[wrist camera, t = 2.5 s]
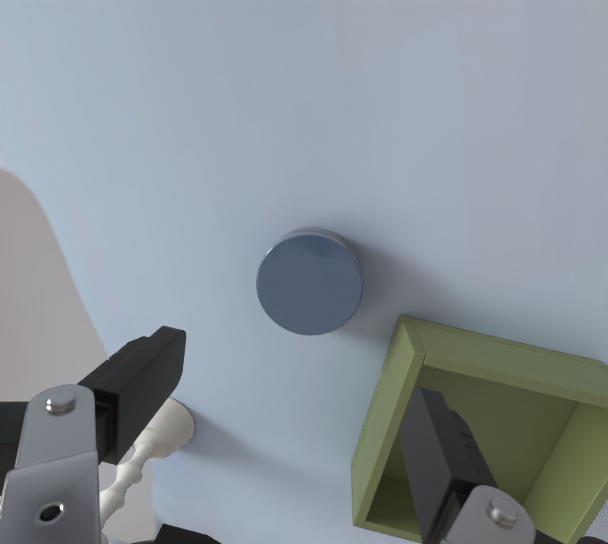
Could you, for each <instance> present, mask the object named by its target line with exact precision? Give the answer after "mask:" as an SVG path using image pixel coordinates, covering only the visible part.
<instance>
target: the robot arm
mask: <svg viewBox="0 0 608 544" xmlns="http://www.w3.org/2000/svg"><path fill="white" fill-rule="evenodd" d="M185 344H186V332H185V331H184V330H180V329H175V328H171V327H167V326H162V327H161V328H159V329H158V330H157V331H156V332H155V333H154V334H153V335H151V336H150V337H145V336H143V337H140V338H138V339H135V340H133V341H130V342H128V343H127V344H126V345H125V346H123V347H122V348H121V349H120V350H118V352H117V353H115V354H113V355H112V356H111V357H110V358H109V360H106V361H105V362H104V363H102V364H101V365H100V366H99V367H97V368H96V369H95V370H94V371H93V372H91V373H90V374H89V375H87V376H86V377H85V378H84V379H83V380H81V381H80V382H79V383H78V384H76V385H62V386H57V387H53V388H50V389H47V390H45V391H43V392H41V393H39V394H38V395H36V396H35V397H34V398H33V399H32V400H31V401H30V402H0V496H1V501H0V544H101V522H100V497H99V474H98V466H99V465H100V463H101V462H102V461H103V462H106V463H110V464H114V465H117V464H118V463H119V461H120V460H121V459H122V457H123V456H124V455H125V453H126V452H127V451H128V450H129V448H130V447H131V446H132V445H133V443H134V442H135V441H136V439H137V438H138V437H139V435H140V434H141V433H142V431H143V430H144V429H145V428H146V426H147V425H148V424H149V422H150V421H151V420H152V418H153V417H154V416H155V414H156V413H157V412H158V410H159V409H160V408H161V407H162V405H163V404H164V403H165V401H166V400H167V399H168V397H169V396H170V395H171V393H172V392H173V391H174V390H175V388H176V387H177V385H178V383H179V381H180V378H181V375H182V371H183V363H184V353H185ZM401 445H402V450H403V455H404V459H405V464H406V469H407V474H408V478H409V483H410V488H411V493H412V498H413V502H414V507H415V512H416V517H417V521H418V526H419V531H420V536H421V540H422V544H564V543H562V542H560V541H558V540H556V539H554V538H552V537H550V536H548V535H546V534H544V533H542V532H541V531H539V530H537V529H535V526H534V523H533V521H532V519H531V517H530V516H529V514H528V513H527V511H526V510H525V509H524V508H523V507H522V506H521V505H520V504H519V503H518V502H517V501H516V500H515V499H514V498H512V497H511V496H510V495H508V494H506V493H505V492H503V491H501V490H499V488H498V486H497V484H496V482H495V480H494V478H493V475H492V473H491V471H490V469H489V467H488V465H487V463H486V461H485V459H484V457H483V455H482V453H481V451H479V447H478V445H477V443H476V440H474V436H473V434H472V432H471V430H470V428H469V426H468V424H467V423H466V422H465V421H464V420H463V418H462V417H461V416H460V415H459V414H458V413H457V412H456V411H454V410H450V409H449V408H448V405H447V403H446V401H445V399H444V396H443V394H442V393H441V392H440V391H436V390H432V389H428V388H424V387H419V386H417V387H416V388H415V390H414V392H413V395H412V398H411V401H410V403H409V406H408V409H407V412H406V415H405V418H404V421H403V424H402V428H401ZM132 544H221V543H219V542H218V541H216V540H214V539H213V538H211V537H210V536H208V535H205V534H201V533H197V532H193V531H190V530H186V529H182V528H178V527H174V526H171V525H167V524H163V525H162V527H161V529H160V531H159V533H158V535H157V537H156V539H155V540H150V541H142V542H136V543H132ZM576 544H608V543H607V542H605V541H603V540H600V539H598V538H594V537H589V536H585V537H581V538H580V539H579V540H578V541H577V543H576Z"/></svg>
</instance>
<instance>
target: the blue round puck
mask: <svg viewBox="0 0 608 544" xmlns="http://www.w3.org/2000/svg"><path fill="white" fill-rule="evenodd" d="M362 287H363V285H362V276H361V271H360V266H359V262H358V259H357V257H356V255H355V253H354V251H353V250H352V248H351V247H350V246H349V245H348V243H347V242H346V241H344V240H343V239H342V238H341V237H339V236H338V235H336V234H334V233H332V232H330V231H327V230H324V229H318V228H303V229H299V230H295V231H293V232H290V233H288V234H286V235H285V236H283V237H282V238H281V239H279V240H278V241H277V242H276V243H275V244H274V246H273V247H272V248H271V249H270V250H269V251H268V253H267V254H266V255H265V257H264V258H263V260H262V262H261V264H260V266H259V269H258V273H257V280H256V288H257V294H258V297H259V301H260V303H261V305H262V307H263V309H264V310H265V312H266V313H267V314H268V316H269V317H270V318H271V319H272V320H273V321H274V322H275V323H277V324H278V325H279V326H281V327H283V328H284V329H286V330H288V331H291V332H294V333H297V334H302V335H320V334H325V333H328V332H331V331H333V330H335V329H337V328H339V327H341V326H342V325H343V324H345V323H346V322H347V321H348V320H349V319H350V318H351V317H352V316H353V314H354V313H355V311H356V309H357V308H358V306H359V303H360V300H361V296H362Z"/></svg>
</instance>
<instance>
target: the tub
mask: <svg viewBox="0 0 608 544" xmlns="http://www.w3.org/2000/svg"><path fill="white" fill-rule="evenodd" d="M417 386H419V387H424V388H428V389H432V390H436V391H440V392H441V393H442V394H443V396H444V399H445V401H446V403H447V405H448V408H449V409H450V410H454V411H456V412H457V413H458V414H459V415H460V416H461V417H462V418H463V420H464V421H465V422H466V423H467V424H468V426H469V428H470V430H471V432H472V434H473V436H474V440H476V443H477V445H478V447H479V451H481V453H482V455H483V457H484V459H485V461H486V463H487V465H488V467H489V469H490V471H491V473H492V475H493V478H494V480H495V482H496V484H497V486H498V488H499V490H501V491H503V492H505V493H506V494H508V495H510V496H511V497H512V498H514V499H515V500H516V501H517V502H518V503H519V504H520V505H521V506H522V507H523V508H524V509H525V510H526V511H527V513H528V514H529V516H530V517H531V519H532V521H533V523H534V526H535V529H537V530H539V531H541V532H542V533H544V534H546V535H548V536H550V537H552V538H554V539H556V540H558V541H560V542H562V543H564V544H576V543H577V541H578V540H579V539H580V538H581V537H583V536H584V534H585V533H586V531H587V530H588V528H589V526H590V525H591V523H592V522H593V520H594V519H595V517H596V516H597V514H598V513H599V511H600V510H601V508H602V507H603V505H604V504H605V502H606V500H607V499H608V367H607V366H605V365H604V364H603V363H601V362H600V361H596V360H591V359H587V358H583V357H578V356H574V355H570V354H565V353H561V352H557V351H552V350H548V349H544V348H539V347H535V346H531V345H527V344H522V343H518V342H514V341H509V340H505V339H501V338H496V337H492V336H488V335H483V334H479V333H475V332H470V331H466V330H462V329H458V328H453V327H449V326H445V325H440V324H436V323H432V322H427V321H423V320H419V319H414V318H410V317H406V316H401V315H400V316H399V319H398V322H397V325H396V328H395V331H394V334H393V337H392V340H391V343H390V346H389V349H388V353H387V356H386V359H385V362H384V365H383V368H382V371H381V374H380V377H379V380H378V384H377V387H376V390H375V393H374V396H373V399H372V402H371V405H370V408H369V411H368V414H367V418H366V421H365V424H364V427H363V430H362V433H361V436H360V439H359V442H358V445H357V449H356V452H355V455H354V458H353V461H352V464H351V484H352V515H353V526H356V527H360V528H364V529H367V530H371V531H375V532H379V533H383V534H387V535H390V536H394V537H398V538H402V539H406V540H410V541H414V542H418V543H422V540H421V536H420V531H419V526H418V521H417V517H416V512H415V507H414V502H413V498H412V493H411V488H410V483H409V478H408V474H407V469H406V464H405V459H404V455H403V450H402V445H401V428H402V424H403V421H404V418H405V415H406V412H407V409H408V406H409V403H410V401H411V398H412V395H413V392H414V390H415V388H416V387H417Z"/></svg>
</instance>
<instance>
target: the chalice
mask: <svg viewBox="0 0 608 544" xmlns="http://www.w3.org/2000/svg"><path fill="white" fill-rule="evenodd" d="M194 429H195V424H194V420H193V417H192V416H191V414H190V412H189V411H188V409H186V408H185V407H184V406H183V405H182V404H181V403H179V402H177V401H176V400H174V399H172V398H168V399H167V400H166V401H165V403H164V404H163V405H162V407H161V408H160V409H159V410H158V412H157V413H156V414H155V416H154V417H153V418H152V420H151V421H150V422H149V424H148V425H147V426H146V428H145V429H144V430H143V431H142V433H141V434H140V435H139V437H138V438H137V439H136V441H135V442H134V443H133V445H132V447H133V448H134V450H135V454H134V456H133V458H132V459H130V460H129V461H128V462H127V463H124V464H121V465H119V466H118V467H117V471H116V472H117V478H116V481H115V483H114V484H113V485H112V486H110V487H109V488H108V489H106V490H103V491H101V492H100V494H99V497H100V522H101V544H109V543H108V540H107V537H106V536H105V535H104V534H103V532H102V529H103V526H104V524H105V522H106V520H107V519H108V518H109V517H110V516H111V515H112V514H113V513H114V512H115V510H117V509H119V508H121V507H122V506H123V505H124V496H125V493H126V491H127V489H128V488H129V487H130V486H131V485H132V484H135V483H138V482H139V481H141V479H142V473H141V470H142V467H143V465H144V463H145V462H146V461H147V460H148V459H150V460H157V459H161V458H164V457H168V456H169V455H171V454H172V453H173V452H174V451H176V450H177V449H179V448H180V447H181V446H183V445H184V444H186V443H187V442H188V441H190V439H191V438H192V436H193V435H194Z"/></svg>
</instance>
